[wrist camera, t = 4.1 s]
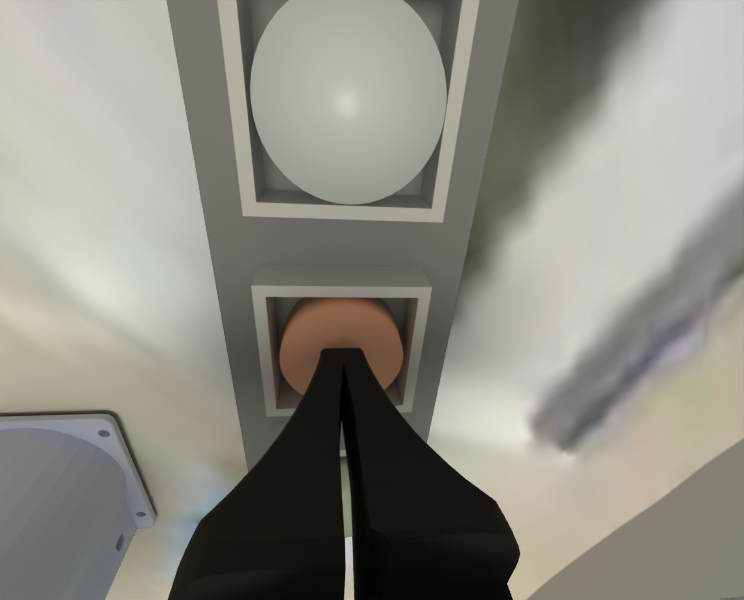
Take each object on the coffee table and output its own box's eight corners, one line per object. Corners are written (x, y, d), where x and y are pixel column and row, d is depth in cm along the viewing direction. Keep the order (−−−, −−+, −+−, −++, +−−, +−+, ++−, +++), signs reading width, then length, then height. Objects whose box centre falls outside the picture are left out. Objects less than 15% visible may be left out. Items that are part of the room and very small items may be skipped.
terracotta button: (390, 375, 15) (397, 403, 14) (287, 377, 15) (283, 406, 14) (401, 285, 13) (409, 308, 12) (280, 284, 13) (275, 307, 11)
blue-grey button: (418, 193, 11) (431, 207, 9) (269, 186, 10) (259, 201, 9) (441, 7, 9) (463, -9, 7) (254, -12, 8) (238, -34, 7)
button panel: (408, 470, 22) (420, 530, 19) (261, 477, 21) (249, 542, 18) (499, -40, 11) (569, -96, 7) (179, -79, 9) (106, -164, 6)
